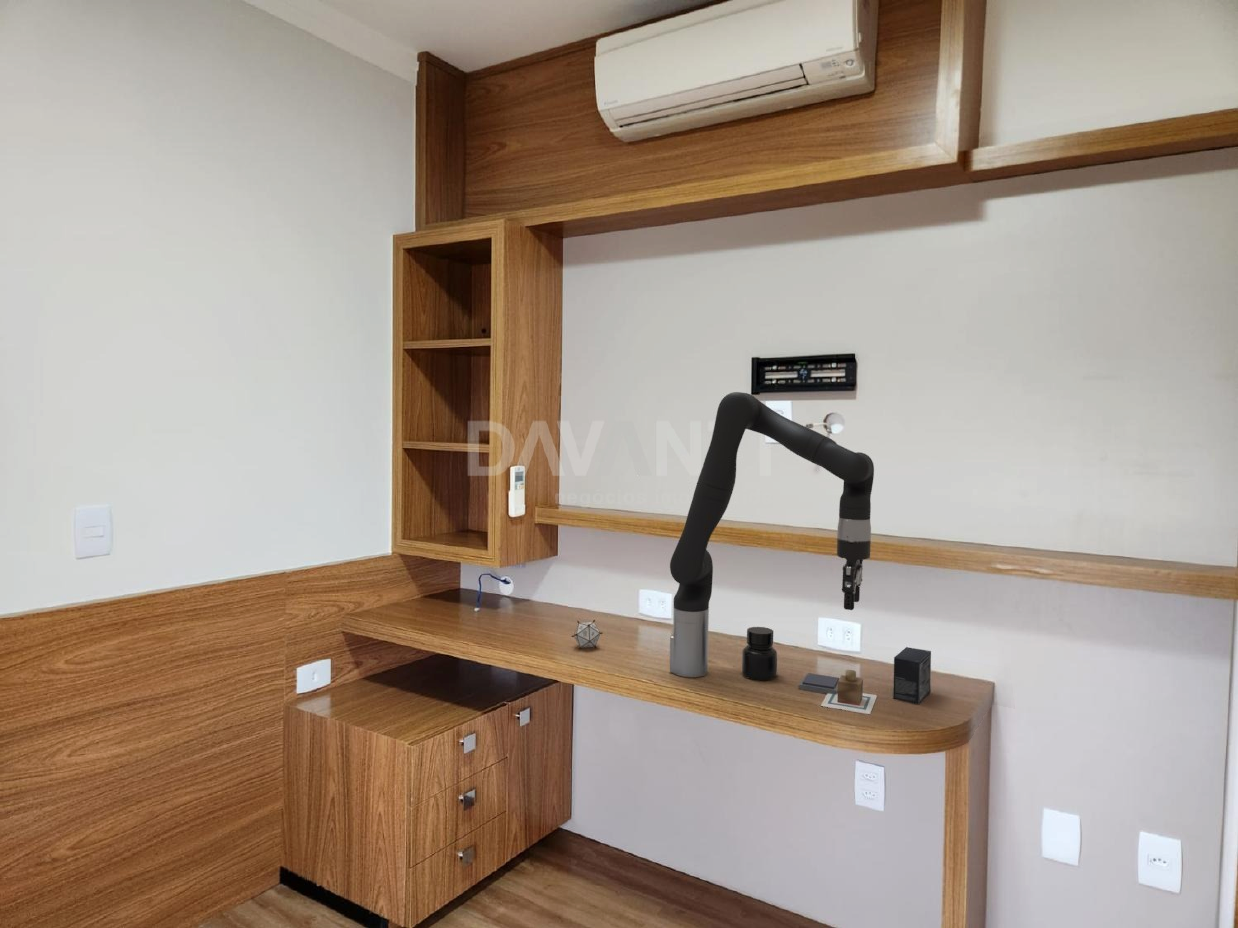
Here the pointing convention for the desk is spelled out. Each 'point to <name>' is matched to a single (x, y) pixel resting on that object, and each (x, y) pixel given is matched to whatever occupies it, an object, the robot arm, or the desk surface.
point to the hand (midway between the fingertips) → (851, 605)
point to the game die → (587, 634)
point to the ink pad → (819, 683)
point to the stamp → (850, 688)
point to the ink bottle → (759, 655)
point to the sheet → (864, 706)
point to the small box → (912, 675)
